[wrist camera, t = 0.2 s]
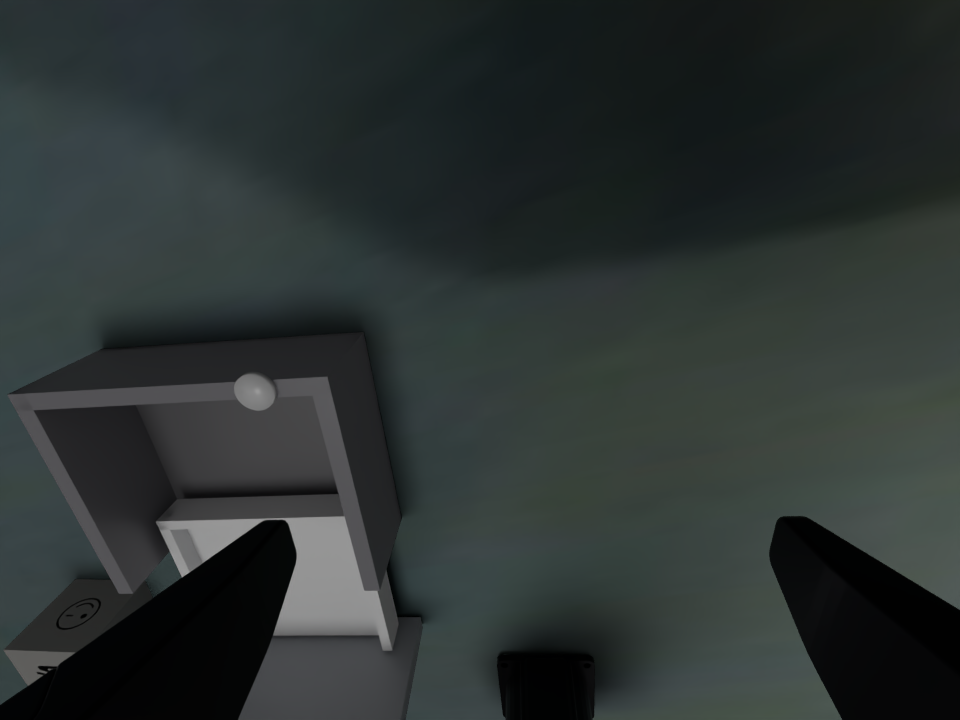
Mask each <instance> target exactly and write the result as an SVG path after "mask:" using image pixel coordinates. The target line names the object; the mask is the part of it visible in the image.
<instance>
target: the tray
mask: <svg viewBox="0 0 960 720" xmlns="http://www.w3.org/2000/svg"><path fill="white" fill-rule="evenodd" d="M264 520H285V521H286V522H287V523H288V525H289V527H290V531H291V534H292V538H293V541H294V544H295V548H296V552H297V560H296V565H295V568H294V571H293V574H292V578H291V581H290V584H289V587H288V590H287V593H286V596H285V600H284V603H283V606H282V609H281V612H280V615H279V618H278V622H277V625H276V628H275V631H274V634H273V637H272V640H271V643H270V645H269V648H268V650H267V653H266V655H265V658H264V660H263V663H262V665H261V667H260V670H259V672H258V674H257V677H256V679H255V681H254V684H253V686H252V688H251V691H250V693H249V695H248V698H247V700H246V702H245V705H244V707H243V709H242V712H241V714H240V716H239V719H238V720H406V714H407V709H408V704H409V698H410V693H411V688H412V682H413V677H414V671H415V666H416V661H417V655H418V650H419V645H420V639H421V634H422V629H423V627H422V622H421V617H397V614H396V609H395V605H394V601H393V597H392V592H391V588H390V584H389V579H388V575H387V571H386V572H385V576H384V579H383V582H382V586H381V589H380V591H364V588H363V584H362V580H361V577H360V573H359V569H358V565H357V561H356V558H355V554H354V550H353V546H352V543H351V539H350V535H349V531H348V528H347V524H346V520H345V516H344V512H343V509H342V505H341V501H340V497H339V494H323V495H291V496H260V497H229V498H197V499H177V500H176V501H175V502H174V503H173V504H172V505H171V506H170V507H169V508H168V509H167V510H166V511H165V512H164V513H163V514H162V516H161V517H160V518H159V519H158V520H157V521H156V523H157V525H158V527H159V530H160V532H161V534H162V536H163V538H164V540H165V542H166V544H167V546H168V548H169V551H170V553H171V555H172V557H173V559H174V561H175V563H176V565H177V567H178V569H179V572H180V574H181V576H182V577H184V576H185V575H186V574H188V573H189V572H191V571H192V570H193V569H195V568H196V567H198V566H199V565H201V564H202V563H203V562H205V561H206V560H208V559H209V558H210V557H212V556H213V555H215V554H216V553H218V552H219V551H220V550H222V549H223V548H225V547H226V546H228V545H229V544H230V543H232V542H233V541H235V540H236V539H237V538H239V537H240V536H242V535H243V534H245V533H246V532H247V531H249V530H250V529H252V528H253V527H254V526H256V525H257V524H259V523H260V522H262V521H264Z"/></svg>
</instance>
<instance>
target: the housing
mask: <svg viewBox="0 0 960 720" xmlns="http://www.w3.org/2000/svg"><path fill="white" fill-rule="evenodd" d="M8 397H9V399H10V400H11V402H12V404H13V406H14V408H15V409H16V411H17V413H18V415H19V417H20V418H21V420H22V422H23V424H24V425H25V427H26V429H27V431H28V433H29V434H30V436H31V438H32V440H33V441H34V443H35V445H36V447H37V449H38V450H39V452H40V454H41V456H42V457H43V459H44V461H45V463H46V465H47V466H48V468H49V470H50V472H51V473H52V475H53V477H54V479H55V481H56V482H57V484H58V486H59V488H60V490H61V491H62V493H63V495H64V497H65V498H66V500H67V502H68V504H69V506H70V507H71V509H72V511H73V513H74V514H75V516H76V518H77V520H78V522H79V523H80V525H81V527H82V529H83V530H84V532H85V534H86V536H87V538H88V539H89V541H90V543H91V545H92V546H93V548H94V550H95V552H96V554H97V555H98V557H99V559H100V561H101V563H102V564H103V566H104V568H105V570H106V571H107V573H108V575H109V577H110V579H111V580H112V582H113V584H114V586H115V587H116V589H117V591H118V593H119V594H133V593H134V592H135V591H136V590H137V589H138V587H139V586H140V585H141V584H142V583H143V582H144V580H145V579H146V578H147V577H148V576H149V575H150V573H151V572H152V571H153V570H154V569H155V568H156V566H157V565H158V564H159V563H160V562H161V561H162V559H163V558H164V557H165V556H166V555H167V554H168V552H169V548H168V546H167V544H166V542H165V540H164V538H163V536H162V534H161V532H160V530H159V527H158V525H157V523H156V521H157V520H158V519H159V518H160V517H161V516H162V514H163V513H164V512H165V511H166V510H167V509H168V508H169V507H170V506H171V505H172V504H173V503H174V502H175V501H176V500H177V499H197V498H229V497H260V496H291V495H323V494H339V497H340V501H341V505H342V509H343V512H344V516H345V520H346V524H347V528H348V531H349V535H350V539H351V543H352V546H353V550H354V554H355V558H356V561H357V565H358V569H359V573H360V577H361V580H362V584H363V588H364V591H380V589H381V586H382V582H383V579H384V576H385V572H386V569H387V566H388V562H389V559H390V556H391V552H392V549H393V546H394V542H395V539H396V536H397V532H398V529H399V526H400V522H401V519H402V518H401V513H400V508H399V503H398V498H397V493H396V488H395V483H394V478H393V473H392V468H391V463H390V458H389V454H388V449H387V444H386V439H385V434H384V429H383V424H382V419H381V414H380V409H379V404H378V399H377V394H376V389H375V385H374V380H373V375H372V370H371V365H370V360H369V355H368V350H367V345H366V340H365V335H364V332H355V333H340V334H324V335H309V336H294V337H278V338H263V339H247V340H232V341H217V342H201V343H186V344H170V345H155V346H140V347H124V348H109V349H101V350H99V351H97V352H95V353H92V354H90V355H88V356H86V357H84V358H82V359H80V360H78V361H76V362H74V363H72V364H70V365H68V366H66V367H63V368H61V369H59V370H57V371H55V372H53V373H51V374H49V375H47V376H45V377H43V378H41V379H39V380H37V381H35V382H32V383H30V384H28V385H26V386H24V387H22V388H20V389H18V390H16V391H14V392H12V393H10V394H8Z"/></svg>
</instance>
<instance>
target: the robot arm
mask: <svg viewBox="0 0 960 720" xmlns="http://www.w3.org/2000/svg"><path fill="white" fill-rule="evenodd" d="M769 557H770V562H771V566H772V568H773V571H774V573H775V575H776V578H777V580H778V583H779V585H780V588H781V590H782V593H783V595H784V597H785V600H786V602H787V605H788V607H789V610H790V612H791V614H792V617H793V619H794V622H795V624H796V627H797V629H798V632H799V634H800V636H801V639H802V641H803V643H804V646H805V648H806V650H807V652H808V655H809V657H810V659H811V661H812V663H813V665H814V667H815V669H816V671H817V673H818V674H819V676H820V678H821V680H822V682H823V684H824V686H825V688H826V690H827V691H828V693H829V695H830V697H831V699H832V701H833V703H834V705H835V707H836V709H837V710H838V712H839V714H840V716H841V718H842V720H960V610H959V609H957V608H956V607H954V606H952V605H951V604H949V603H947V602H946V601H944V600H942V599H941V598H939V597H938V596H936V595H934V594H933V593H931V592H929V591H928V590H926V589H924V588H923V587H921V586H919V585H918V584H916V583H914V582H913V581H911V580H910V579H908V578H906V577H905V576H903V575H901V574H900V573H898V572H896V571H895V570H893V569H891V568H890V567H888V566H886V565H885V564H883V563H882V562H880V561H878V560H877V559H875V558H873V557H872V556H870V555H868V554H867V553H865V552H863V551H862V550H860V549H859V548H857V547H855V546H854V545H852V544H850V543H849V542H847V541H845V540H844V539H842V538H840V537H839V536H837V535H835V534H834V533H832V532H831V531H829V530H827V529H826V528H824V527H822V526H821V525H819V524H817V523H816V522H814V521H812V520H811V519H809V518H807V517H803V516H783V517H780V518H779V519H778V520H777V522H776V525H775V530H774V534H773V538H772V542H771V546H770V551H769ZM296 560H297V552H296V548H295V544H294V541H293V538H292V534H291V531H290V527H289V525H288V523H287V522H286V521H285V520H264V521H262V522H260V523H259V524H257V525H256V526H254V527H253V528H252V529H250V530H249V531H247V532H246V533H245V534H243V535H242V536H240V537H239V538H237V539H236V540H235V541H233V542H232V543H230V544H229V545H228V546H226V547H225V548H223V549H222V550H220V551H219V552H218V553H216V554H215V555H213V556H212V557H210V558H209V559H208V560H206V561H205V562H203V563H202V564H201V565H199V566H198V567H196V568H195V569H193V570H192V571H191V572H189V573H188V574H186V575H185V576H184V577H182V578H181V579H179V580H178V581H176V582H175V583H174V584H172V585H171V586H169V587H168V588H166V589H165V590H164V591H162V592H161V593H159V594H158V595H157V596H155V597H154V598H152V599H151V600H149V601H148V602H147V603H145V604H144V605H142V606H141V607H139V608H138V609H137V610H135V611H134V612H132V613H131V614H130V615H128V616H127V617H125V618H124V619H122V620H121V621H120V622H118V623H117V624H115V625H114V626H112V627H111V628H110V629H108V630H107V631H105V632H104V633H103V634H101V635H100V636H98V637H97V638H95V639H94V640H93V641H91V642H90V643H88V644H87V645H85V646H84V647H83V648H81V649H80V650H78V651H77V652H76V653H74V654H73V655H71V656H70V657H68V658H67V659H66V660H64V661H63V662H61V663H60V664H59V665H58V667H57V669H51V670H50V671H48V672H47V673H46V674H44V675H43V676H41V677H40V678H38V679H37V680H36V681H34V682H33V683H31V684H30V685H29V686H27V687H26V688H24V689H23V690H21V691H20V692H18V693H17V694H16V695H14V696H13V697H11V698H10V699H8V700H7V701H5V702H4V703H2V704H1V705H0V720H238V719H239V716H240V714H241V712H242V709H243V707H244V705H245V702H246V700H247V698H248V695H249V693H250V691H251V688H252V686H253V684H254V681H255V679H256V677H257V674H258V672H259V670H260V667H261V665H262V663H263V660H264V658H265V655H266V653H267V650H268V648H269V645H270V643H271V640H272V637H273V634H274V631H275V628H276V625H277V622H278V618H279V615H280V612H281V609H282V606H283V603H284V600H285V596H286V593H287V590H288V587H289V584H290V581H291V578H292V574H293V571H294V568H295V565H296ZM497 668H498V676H499V685H500V694H501V702H502V711H503V716H504V717H505V718H506V720H592V718H594V686H595V664H594V659H593V657H592V656H590V655H501V656H499V657H498V659H497Z"/></svg>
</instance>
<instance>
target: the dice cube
mask: <svg viewBox="0 0 960 720" xmlns="http://www.w3.org/2000/svg"><path fill="white" fill-rule="evenodd" d="M152 598H153V597H152V595H151V592H150V590H149V588H148V586H147V584H146V581H144V582H143V583H142V584H141V585H140V586H139V587H138V589H137V590H136V591H135V592H134V593H133V594H119V593H118V591H117V589H116V587H115V586H114V584H113V582H112V580H92V579H75V580H74V581H73V582H72V583H71V584H70V585H69V586H68V587H67V588H66V589H65V590H64V591H63V592H62V593H61V594H60V595H59V596H58V597H57V598H56V599H55V600H54V601H53V602H52V603H51V604H50V605H49V606H48V607H47V608H46V609H45V610H44V611H43V612H42V613H41V614H40V615H38V616H37V617H36V618H35V619H34V620H33V621H32V622H31V623H30V624H29V625H28V626H27V627H26V628H25V629H24V630H23V631H22V632H21V633H20V634H19V635H18V636H17V637H16V638H15V639H14V640H13V641H12V642H11V643H10V644H9V645H8V646H7V647H6V648H5V649H4V651H5V653H6V654H7V656H8V657H9V659H10V660H11V662H12V663H13V665H14V666H15V668H16V669H17V671H18V672H19V673H20V675H21V676H22V678H23V679H24V681H25V682H26V684H27V685H28V686H29V685H30V684H31V683H33V682H34V681H36V680H37V679H38V678H40V677H41V676H43V675H44V674H46V673H47V672H48V671H50V670H51V669H57V667H58V665H59V664H60V663H61V662H63V661H64V660H66V659H67V658H68V657H70V656H71V655H73V654H74V653H76V652H77V651H78V650H80V649H81V648H83V647H84V646H85V645H87V644H88V643H90V642H91V641H93V640H94V639H95V638H97V637H98V636H100V635H101V634H103V633H104V632H105V631H107V630H108V629H110V628H111V627H112V626H114V625H115V624H117V623H118V622H120V621H121V620H122V619H124V618H125V617H127V616H128V615H130V614H131V613H132V612H134V611H135V610H137V609H138V608H139V607H141V606H142V605H144V604H145V603H147V602H148V601H149V600H151V599H152Z"/></svg>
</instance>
